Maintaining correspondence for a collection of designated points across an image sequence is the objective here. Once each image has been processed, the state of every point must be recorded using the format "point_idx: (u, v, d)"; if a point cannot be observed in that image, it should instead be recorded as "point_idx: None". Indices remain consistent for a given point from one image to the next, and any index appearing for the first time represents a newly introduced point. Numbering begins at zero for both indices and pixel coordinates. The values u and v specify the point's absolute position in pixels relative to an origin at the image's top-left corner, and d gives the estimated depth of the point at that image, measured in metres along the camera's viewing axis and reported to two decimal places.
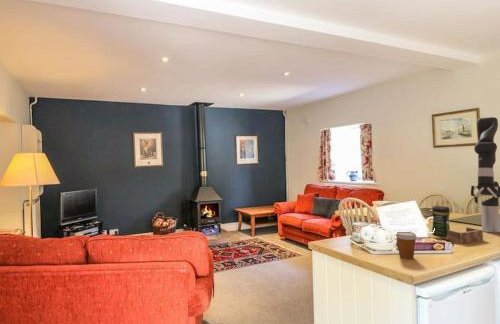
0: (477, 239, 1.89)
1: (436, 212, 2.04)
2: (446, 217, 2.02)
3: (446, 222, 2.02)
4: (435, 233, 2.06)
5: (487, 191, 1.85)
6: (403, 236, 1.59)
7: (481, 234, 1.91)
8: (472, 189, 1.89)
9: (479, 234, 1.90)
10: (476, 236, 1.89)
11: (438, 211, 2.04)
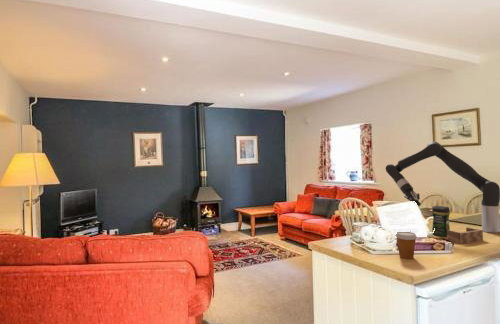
0: (477, 239, 1.89)
1: (436, 212, 2.04)
2: (446, 217, 2.02)
3: (446, 222, 2.02)
4: (435, 233, 2.06)
5: None
6: (403, 236, 1.59)
7: (481, 234, 1.91)
8: None
9: (479, 234, 1.90)
10: (476, 236, 1.89)
11: (438, 211, 2.04)
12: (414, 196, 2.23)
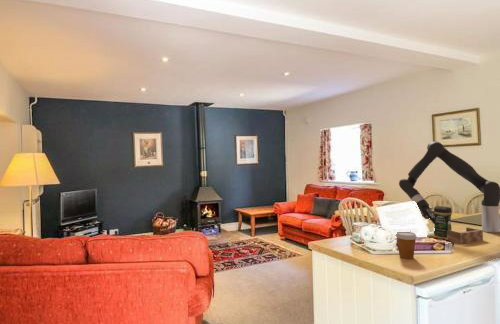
0: (477, 239, 1.89)
1: (438, 212, 2.03)
2: (448, 217, 2.01)
3: (448, 222, 2.01)
4: (437, 233, 2.04)
5: None
6: (403, 236, 1.59)
7: (481, 234, 1.91)
8: None
9: (479, 234, 1.90)
10: (476, 236, 1.89)
11: (440, 211, 2.02)
12: (430, 213, 2.12)
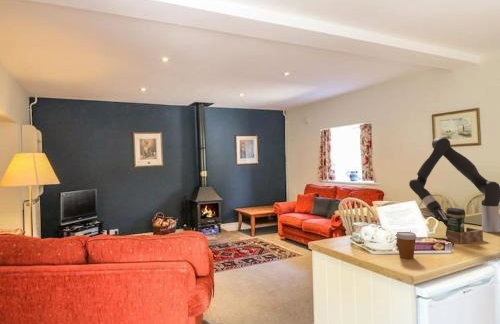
0: (477, 239, 1.89)
1: (450, 214, 1.95)
2: (461, 220, 1.92)
3: (460, 225, 1.92)
4: None
5: None
6: (403, 236, 1.59)
7: (481, 234, 1.91)
8: None
9: (479, 234, 1.90)
10: (476, 236, 1.89)
11: (452, 213, 1.94)
12: (443, 215, 2.04)
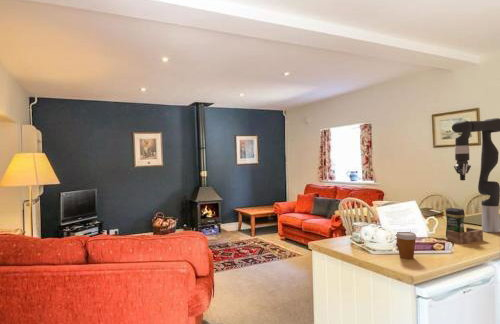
0: (477, 239, 1.89)
1: (450, 214, 1.95)
2: (460, 220, 1.93)
3: (460, 225, 1.93)
4: None
5: None
6: (403, 236, 1.59)
7: (481, 234, 1.91)
8: (459, 168, 2.01)
9: (479, 234, 1.90)
10: (476, 236, 1.89)
11: (451, 213, 1.95)
12: None
